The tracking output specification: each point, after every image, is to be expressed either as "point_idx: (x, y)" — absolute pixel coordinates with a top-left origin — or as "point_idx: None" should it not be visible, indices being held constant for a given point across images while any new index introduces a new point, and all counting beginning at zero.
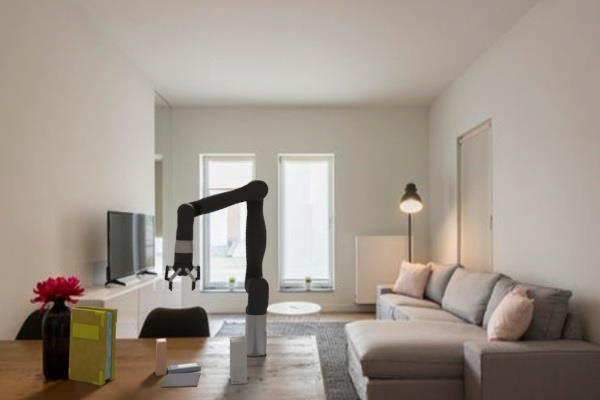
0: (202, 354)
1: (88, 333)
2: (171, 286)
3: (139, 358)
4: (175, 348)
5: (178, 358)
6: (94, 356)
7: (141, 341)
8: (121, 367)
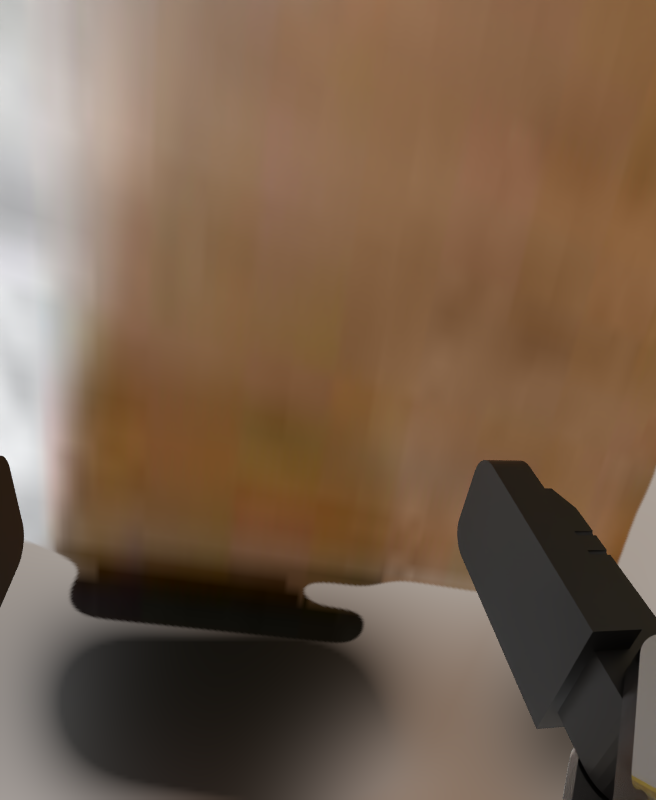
0: (77, 242)
1: None
2: (553, 526)
3: (459, 290)
4: (246, 405)
5: (244, 211)
6: None
7: (397, 543)
8: (581, 159)
